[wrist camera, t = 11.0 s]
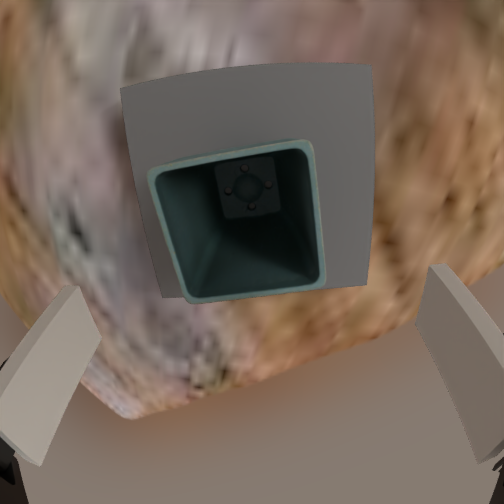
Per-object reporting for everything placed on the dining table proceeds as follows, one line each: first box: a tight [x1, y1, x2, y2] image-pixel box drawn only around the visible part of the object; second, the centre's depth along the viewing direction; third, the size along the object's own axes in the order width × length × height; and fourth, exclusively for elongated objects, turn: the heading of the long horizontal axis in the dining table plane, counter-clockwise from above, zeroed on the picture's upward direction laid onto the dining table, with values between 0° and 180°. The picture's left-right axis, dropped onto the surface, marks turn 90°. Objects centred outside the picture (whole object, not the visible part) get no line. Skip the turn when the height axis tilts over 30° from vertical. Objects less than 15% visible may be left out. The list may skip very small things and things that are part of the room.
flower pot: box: [146, 138, 326, 304], centre depth 21 cm, size 9×9×9 cm
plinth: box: [120, 63, 375, 298], centre depth 26 cm, size 20×20×4 cm
